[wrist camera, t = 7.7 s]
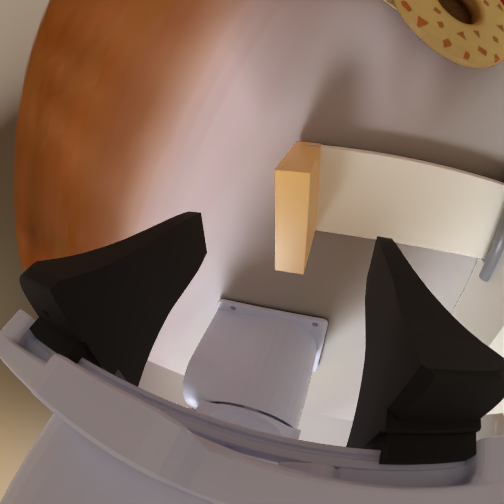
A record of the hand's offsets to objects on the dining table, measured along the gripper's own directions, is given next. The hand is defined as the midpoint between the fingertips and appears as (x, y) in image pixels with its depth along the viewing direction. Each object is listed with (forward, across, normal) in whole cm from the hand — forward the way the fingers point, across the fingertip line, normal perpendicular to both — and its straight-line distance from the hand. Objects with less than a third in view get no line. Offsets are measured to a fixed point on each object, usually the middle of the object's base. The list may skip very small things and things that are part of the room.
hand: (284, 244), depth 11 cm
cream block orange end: (+6, -7, 0) cm, 9 cm away
